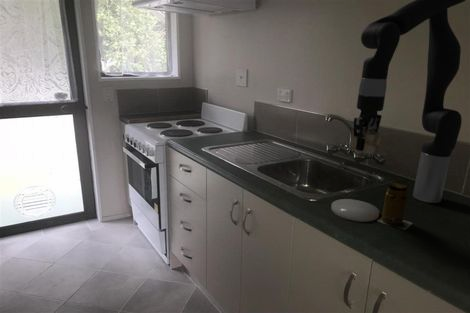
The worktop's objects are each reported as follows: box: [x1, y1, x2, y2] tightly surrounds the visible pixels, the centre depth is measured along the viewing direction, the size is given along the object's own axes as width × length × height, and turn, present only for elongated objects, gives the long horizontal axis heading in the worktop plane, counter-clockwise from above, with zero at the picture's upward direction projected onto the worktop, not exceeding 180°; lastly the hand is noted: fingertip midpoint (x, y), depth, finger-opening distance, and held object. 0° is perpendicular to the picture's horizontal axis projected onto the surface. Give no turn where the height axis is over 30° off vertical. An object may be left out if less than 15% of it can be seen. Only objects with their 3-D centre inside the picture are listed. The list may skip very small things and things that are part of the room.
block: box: [348, 130, 382, 155], centre depth 107 cm, size 5×7×6 cm
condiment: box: [376, 182, 413, 231], centre depth 105 cm, size 7×8×12 cm
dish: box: [330, 198, 380, 223], centre depth 114 cm, size 15×15×1 cm
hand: (363, 148), depth 108 cm, fingers closed on block, 5 cm apart
